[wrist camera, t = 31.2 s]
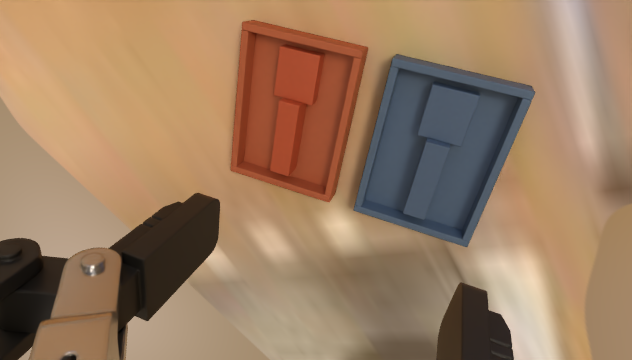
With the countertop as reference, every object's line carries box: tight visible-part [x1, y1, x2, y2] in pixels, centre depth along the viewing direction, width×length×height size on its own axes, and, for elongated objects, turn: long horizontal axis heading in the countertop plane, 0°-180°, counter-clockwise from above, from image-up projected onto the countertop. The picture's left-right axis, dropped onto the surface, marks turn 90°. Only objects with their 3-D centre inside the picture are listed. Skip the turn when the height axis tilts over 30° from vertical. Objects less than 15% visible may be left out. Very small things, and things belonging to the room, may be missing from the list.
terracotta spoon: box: [270, 44, 325, 176], centre depth 34 cm, size 10×3×2 cm, turn 170°
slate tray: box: [354, 54, 535, 247], centre depth 32 cm, size 13×10×2 cm
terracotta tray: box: [231, 20, 368, 202], centre depth 34 cm, size 13×10×2 cm
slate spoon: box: [403, 81, 480, 220], centre depth 31 cm, size 10×3×2 cm, turn 170°
